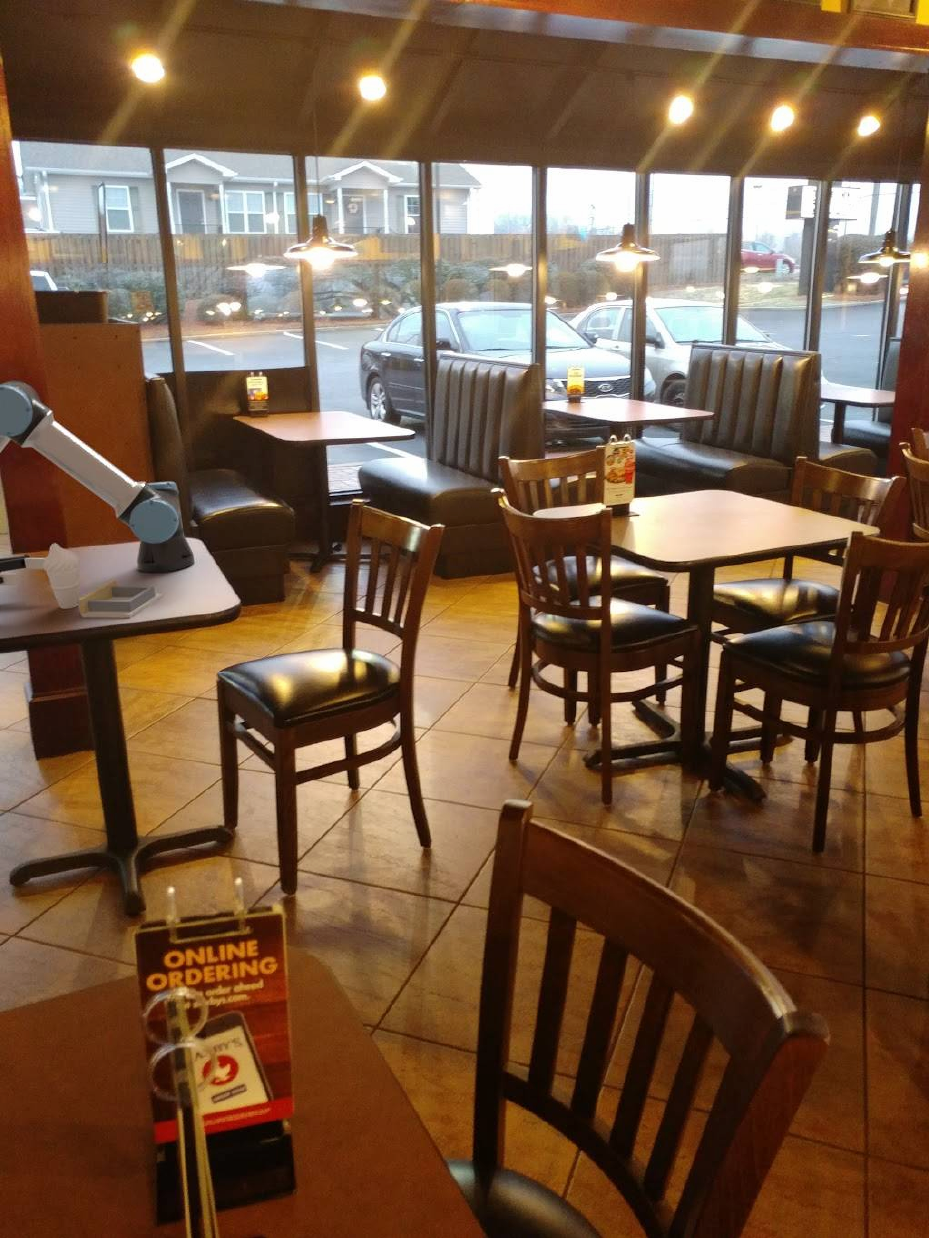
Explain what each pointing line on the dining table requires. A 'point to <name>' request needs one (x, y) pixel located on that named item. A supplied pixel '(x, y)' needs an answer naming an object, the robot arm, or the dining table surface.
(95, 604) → the grey shallow tray
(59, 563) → the soft serve ice cream cone
